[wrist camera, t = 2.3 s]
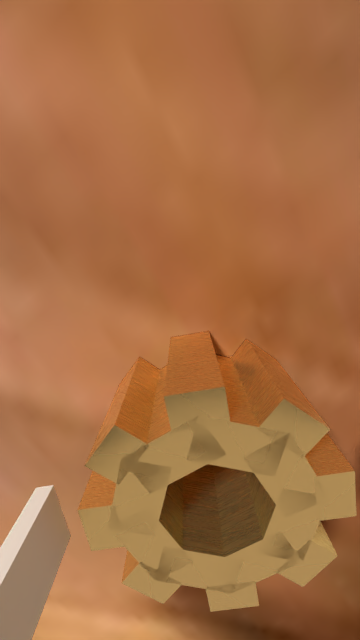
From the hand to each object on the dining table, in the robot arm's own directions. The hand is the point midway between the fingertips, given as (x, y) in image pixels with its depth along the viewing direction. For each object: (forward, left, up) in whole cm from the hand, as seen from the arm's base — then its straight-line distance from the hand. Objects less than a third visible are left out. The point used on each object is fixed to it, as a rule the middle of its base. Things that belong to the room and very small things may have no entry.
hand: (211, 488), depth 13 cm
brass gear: (0, 0, -5) cm, 5 cm away
